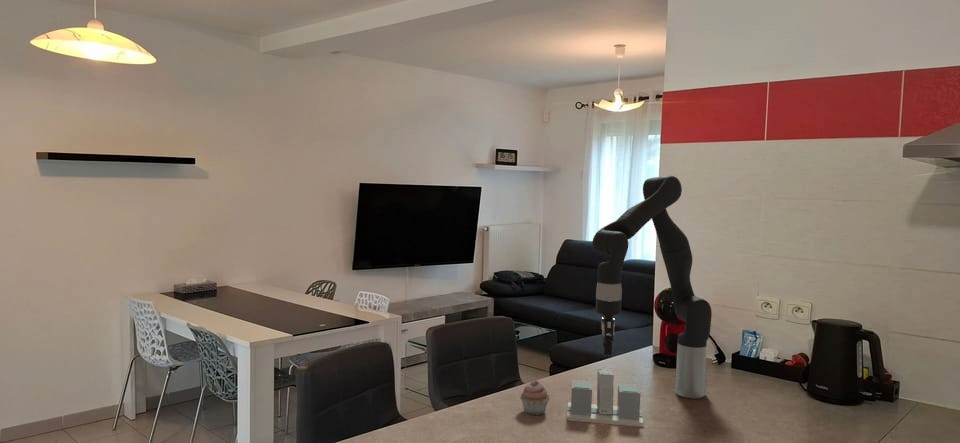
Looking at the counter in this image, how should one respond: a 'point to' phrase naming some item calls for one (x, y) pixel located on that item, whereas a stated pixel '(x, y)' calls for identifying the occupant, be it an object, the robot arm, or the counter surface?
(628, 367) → the counter surface
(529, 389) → the cupcake
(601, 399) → the skincare box
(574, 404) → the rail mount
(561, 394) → the counter surface
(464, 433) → the counter surface
